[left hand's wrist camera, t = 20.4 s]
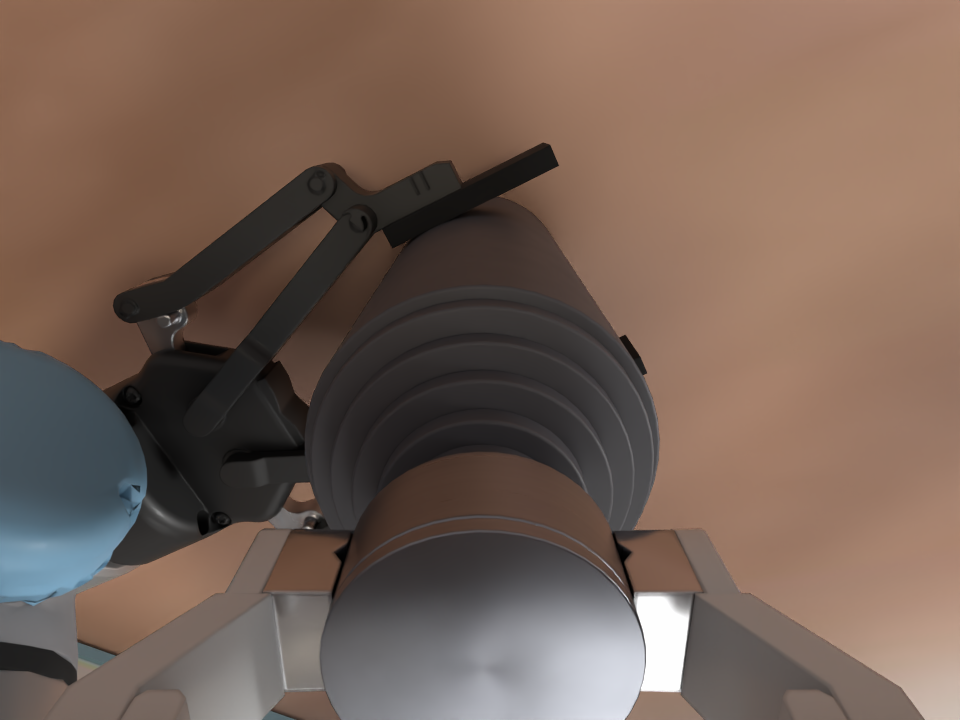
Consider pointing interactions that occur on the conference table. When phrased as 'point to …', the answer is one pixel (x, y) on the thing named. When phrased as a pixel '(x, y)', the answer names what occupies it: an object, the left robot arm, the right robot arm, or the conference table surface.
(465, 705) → the cap
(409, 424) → the bottle
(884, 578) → the conference table surface
